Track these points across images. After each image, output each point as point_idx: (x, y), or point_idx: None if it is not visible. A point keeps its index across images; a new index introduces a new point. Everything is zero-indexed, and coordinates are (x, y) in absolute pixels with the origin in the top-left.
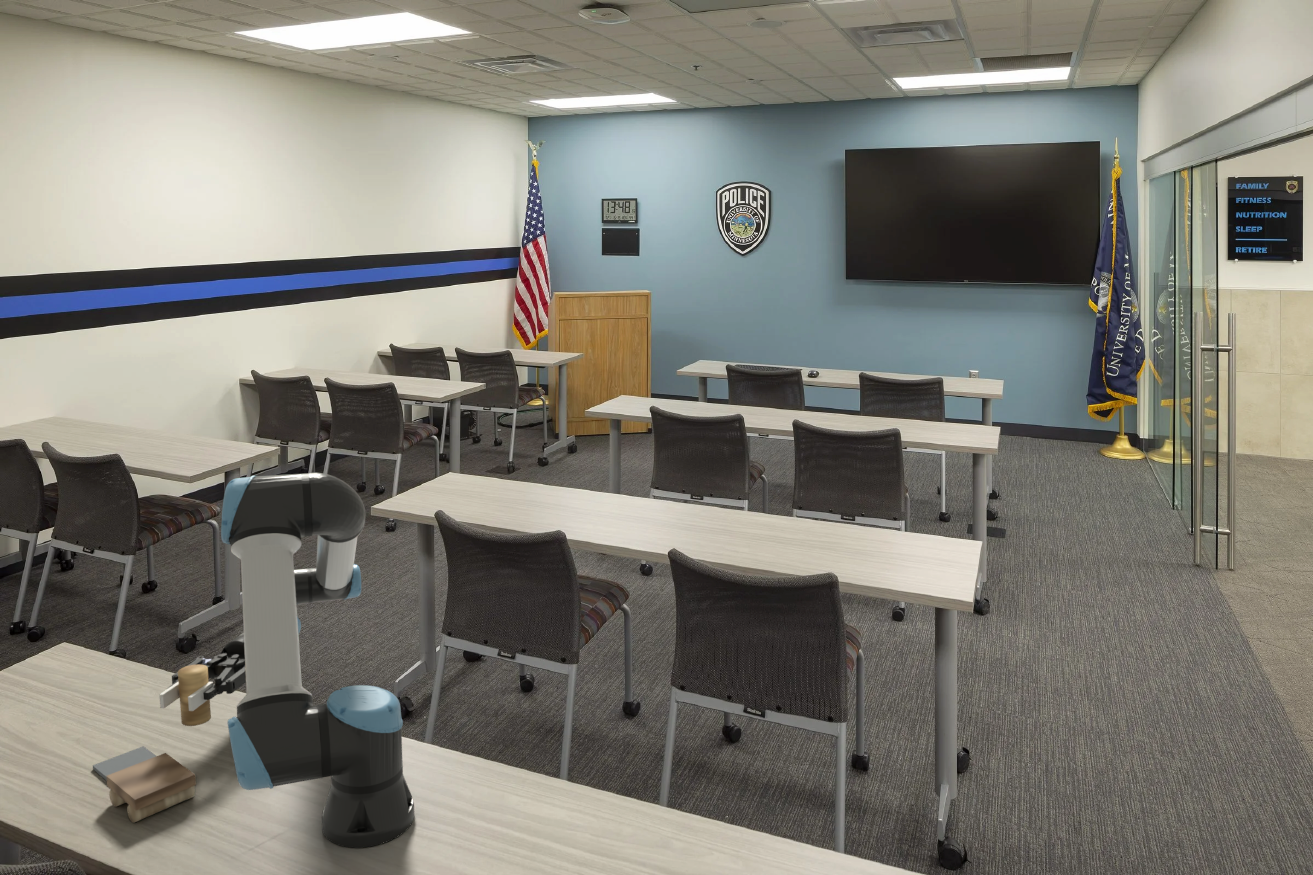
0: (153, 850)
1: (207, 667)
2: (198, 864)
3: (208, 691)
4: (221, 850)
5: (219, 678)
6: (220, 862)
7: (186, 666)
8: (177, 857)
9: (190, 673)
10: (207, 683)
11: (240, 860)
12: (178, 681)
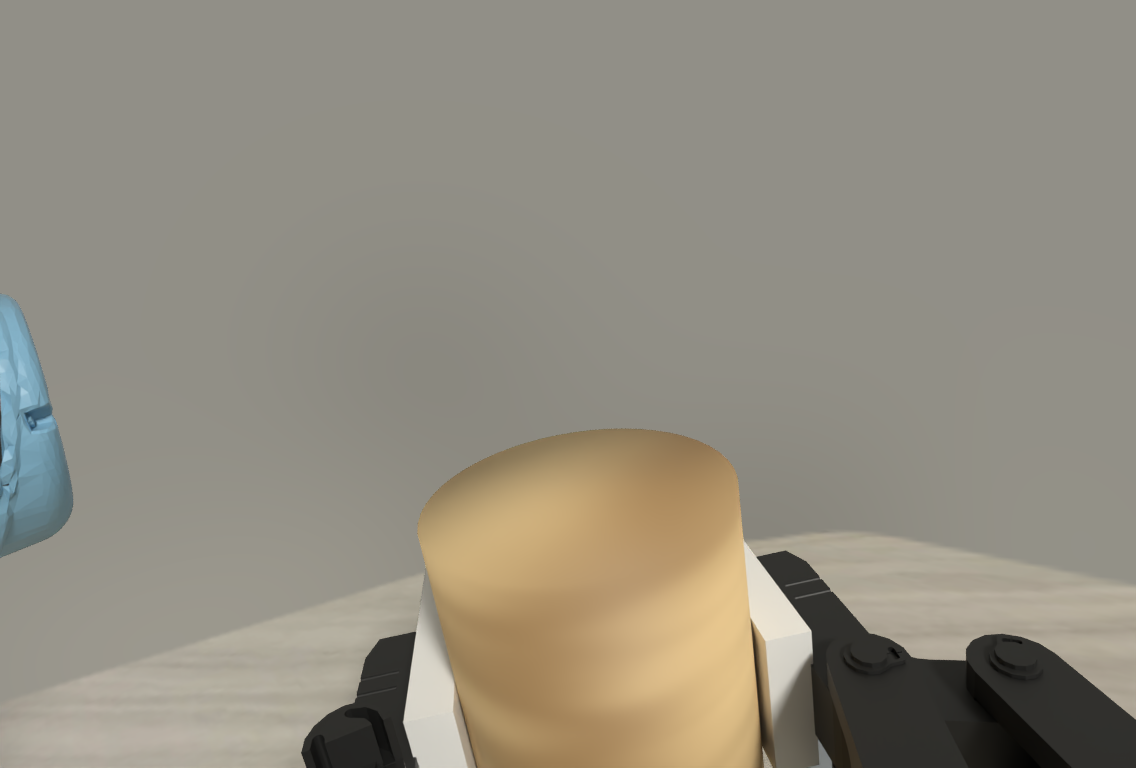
0: (406, 607)
1: (451, 572)
2: (263, 622)
3: (391, 654)
4: (216, 668)
5: (316, 726)
6: (206, 643)
7: (734, 500)
8: (329, 616)
9: (539, 463)
10: (446, 672)
11: (151, 665)
12: (781, 594)
